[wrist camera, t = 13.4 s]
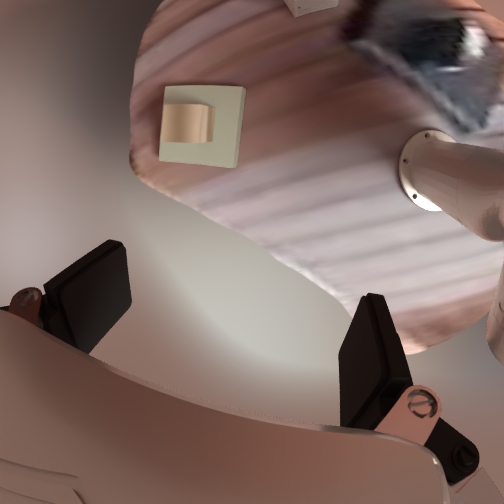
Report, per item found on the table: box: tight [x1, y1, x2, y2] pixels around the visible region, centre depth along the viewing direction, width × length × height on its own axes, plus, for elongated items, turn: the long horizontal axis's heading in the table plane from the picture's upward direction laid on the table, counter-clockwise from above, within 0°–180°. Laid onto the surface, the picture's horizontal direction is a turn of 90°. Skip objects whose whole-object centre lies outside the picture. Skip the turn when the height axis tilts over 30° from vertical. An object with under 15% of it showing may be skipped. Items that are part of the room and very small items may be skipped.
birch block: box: [161, 104, 216, 143], centre depth 33 cm, size 5×5×6 cm
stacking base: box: [159, 85, 246, 168], centre depth 37 cm, size 12×12×2 cm
